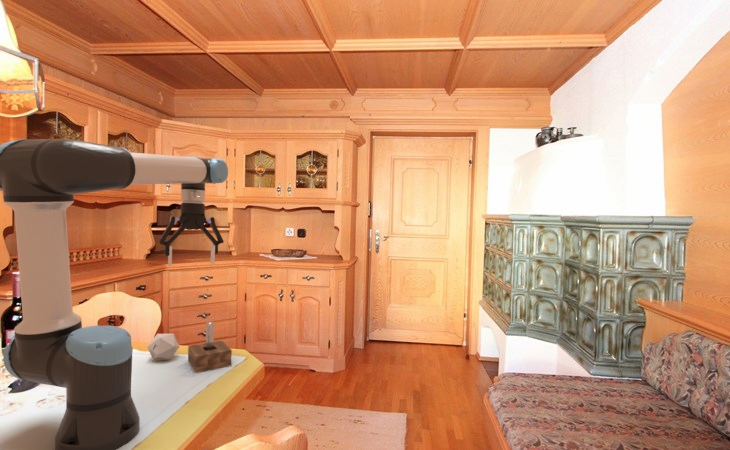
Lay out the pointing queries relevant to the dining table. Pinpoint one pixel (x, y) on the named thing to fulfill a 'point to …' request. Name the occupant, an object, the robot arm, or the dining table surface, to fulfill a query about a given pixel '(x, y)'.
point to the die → (163, 346)
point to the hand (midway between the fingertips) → (191, 264)
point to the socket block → (209, 356)
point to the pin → (209, 336)
